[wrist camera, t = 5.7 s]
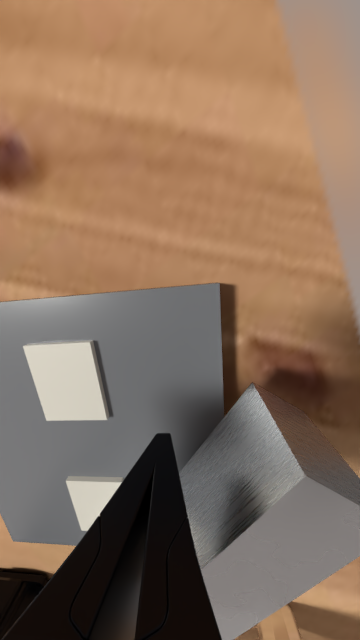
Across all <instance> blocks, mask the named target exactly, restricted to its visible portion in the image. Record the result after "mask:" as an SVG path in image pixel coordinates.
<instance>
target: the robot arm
mask: <svg viewBox="0 0 360 640" xmlns="http://www.w3.org/2000/svg"><path fill="white" fill-rule="evenodd" d="M0 640H222V638H221V634H220V631H219V628H218V625H217V621H216V618H215V615H214V612H213V608H212V605H211V602H210V599H209V595H208V592H207V589H206V586H205V583H204V579H203V576H202V572H201V569H200V565H199V562H198V558H197V554H196V550H195V546H194V542H193V537H192V533H191V528H190V524H189V519H188V514H187V510H186V505H185V500H184V495H183V490H182V486H181V481H180V476H179V471H178V466H177V461H176V457H175V452H174V447H173V442H172V437H171V434H170V433H157V434H156V435H155V436H154V438H153V439H152V440H151V442H150V443H149V445H148V446H147V448H146V449H145V450H144V452H143V453H142V455H141V456H140V457H139V459H138V460H137V462H136V463H135V465H134V466H133V467H132V469H131V470H130V472H129V473H128V474H127V476H126V477H125V479H124V480H123V482H122V483H121V484H120V486H119V487H118V489H117V490H116V491H115V493H114V494H113V496H112V497H111V499H110V500H109V501H108V503H107V504H106V506H105V507H104V508H103V510H102V511H101V513H100V516H98V517H97V518H96V520H95V521H94V522H93V524H92V525H91V527H90V528H89V530H88V531H87V532H86V534H85V535H84V536H83V538H82V539H81V540H80V542H79V543H78V545H77V546H76V547H75V549H74V550H73V551H72V552H71V554H70V555H69V556H68V557H67V559H66V560H65V561H64V563H63V564H62V565H61V566H60V568H59V569H58V570H57V571H56V573H55V574H54V575H53V576H52V578H51V579H50V580H49V581H47V579H46V577H44V576H42V575H33V574H22V573H10V572H0Z"/></svg>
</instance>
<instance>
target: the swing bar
mask: <svg viewBox="0 0 360 640" xmlns="http://www.w3.org/2000/svg"><path fill="white" fill-rule="evenodd" d="M179 476H180V481H181V486H182V490H183V495H184V500H185V505H186V510H187V514H188V519H189V524H190V528H191V533H192V537H193V542H194V546H195V550H196V554H197V558H198V562H199V565H200V569H201V572H202V576H203V579H204V583H205V586H206V589H207V592H208V595H209V599H210V602H211V605H212V608H213V612H214V615H215V618H216V621H217V625H218V628H219V631H220V634H221V638H222V640H234V639H235V638H237V637H238V636H240V635H241V634H243V633H244V632H246V631H247V630H249V629H250V628H252V627H253V626H255V625H256V624H258V623H259V622H261V621H262V620H264V619H265V618H267V617H268V616H270V615H271V614H273V613H274V612H276V611H277V610H279V609H280V608H282V607H283V606H285V605H286V604H288V603H290V602H291V601H293V600H294V599H296V598H297V597H299V596H300V595H302V594H303V593H305V592H306V591H308V590H309V589H311V588H312V587H314V586H315V585H317V584H318V583H320V582H321V581H323V580H324V579H326V578H327V577H329V576H330V575H332V574H333V573H335V572H336V571H338V570H339V569H341V568H342V567H344V566H345V565H347V564H348V563H350V562H352V561H353V560H355V559H356V558H358V557H359V556H360V479H359V477H358V476H357V475H356V474H355V472H354V471H353V470H352V469H351V468H350V466H349V465H348V464H347V463H346V462H345V460H344V459H343V458H342V457H341V456H340V454H339V453H338V452H337V451H336V450H335V448H334V447H333V446H332V445H331V444H330V442H329V441H328V440H327V439H326V438H325V436H324V435H323V434H322V433H321V432H320V430H319V429H318V428H317V427H316V426H315V424H314V423H313V422H312V421H311V420H310V418H309V417H308V416H307V415H306V414H305V412H303V411H302V410H300V409H298V408H296V407H295V406H293V405H291V404H289V403H288V402H286V401H284V400H282V399H281V398H279V397H277V396H276V395H274V394H272V393H270V392H269V391H267V390H265V389H263V388H262V387H260V386H258V385H256V384H255V383H253V382H252V383H251V385H250V386H249V387H248V388H247V389H246V391H245V392H244V393H243V394H242V396H241V397H240V398H239V399H238V401H237V402H236V403H235V404H234V406H233V407H232V408H231V409H230V411H229V412H228V413H227V414H226V416H225V417H224V418H223V419H222V421H221V422H220V423H219V424H218V426H217V427H216V428H215V429H214V430H213V432H212V433H211V434H210V435H209V437H208V438H207V439H206V440H205V442H204V443H203V444H202V445H201V447H200V448H199V449H198V450H197V452H196V453H195V454H194V455H193V457H192V458H191V459H190V460H189V462H188V463H187V464H186V465H185V466H184V468H183V469H182V470H181V471H180V473H179Z"/></svg>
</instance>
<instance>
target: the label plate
mask: <svg viewBox="0 0 360 640" xmlns="http://www.w3.org/2000/svg"><path fill="white" fill-rule="evenodd" d="M223 418H224V396H223V367H222V339H221V310H220V283H208V284H197V285H185V286H174V287H163V288H151V289H140V290H129V291H117V292H106V293H94V294H83V295H72V296H60V297H49V298H38V299H26V300H15V301H3V302H0V514H1V516H2V518H3V520H4V522H5V525H6V527H7V529H8V531H9V533H10V535H11V538H12V540H13V541H16V542H31V543H46V544H61V545H75V546H77V545H78V543H79V542H80V540H81V539H82V538H83V536H84V535H85V534H86V532H87V531H88V530H89V528H90V527H91V525H92V524H93V522H94V521H95V520H96V518H97V517H98V516H100V513H101V511H102V510H103V508H104V507H105V506H106V504H107V503H108V501H109V500H110V499H111V497H112V496H113V494H114V493H115V491H116V490H117V489H118V487H119V486H120V484H121V483H122V482H123V480H124V479H125V477H126V476H127V474H128V473H129V472H130V470H131V469H132V467H133V466H134V465H135V463H136V462H137V460H138V459H139V457H140V456H141V455H142V453H143V452H144V450H145V449H146V448H147V446H148V445H149V443H150V442H151V440H152V439H153V438H154V436H155V435H156V434H157V433H170V434H171V437H172V442H173V447H174V452H175V457H176V461H177V466H178V471H179V473H180V471H181V470H182V469H183V468H184V466H185V465H186V464H187V463H188V462H189V460H190V459H191V458H192V457H193V455H194V454H195V453H196V452H197V450H198V449H199V448H200V447H201V445H202V444H203V443H204V442H205V440H206V439H207V438H208V437H209V435H210V434H211V433H212V432H213V430H214V429H215V428H216V427H217V426H218V424H219V423H220V422H221V421H222V419H223Z"/></svg>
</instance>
